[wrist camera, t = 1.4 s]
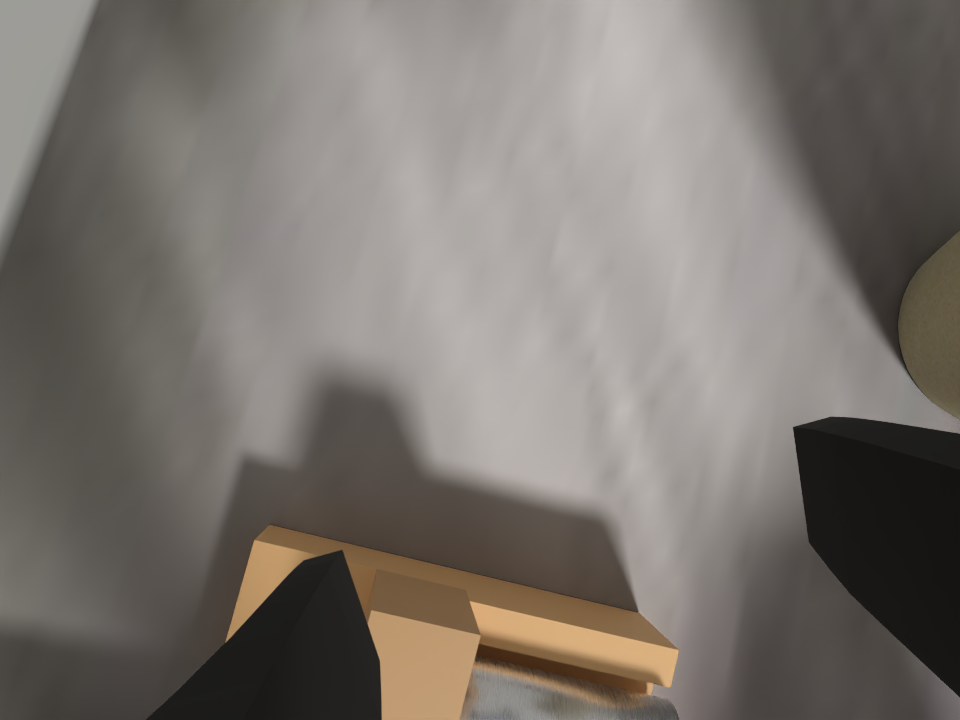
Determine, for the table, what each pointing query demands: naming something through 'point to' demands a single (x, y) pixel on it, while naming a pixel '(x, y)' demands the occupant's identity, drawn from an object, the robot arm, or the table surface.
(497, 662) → the axle
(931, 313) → the plant pot
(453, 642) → the bearing beam
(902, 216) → the table surface
